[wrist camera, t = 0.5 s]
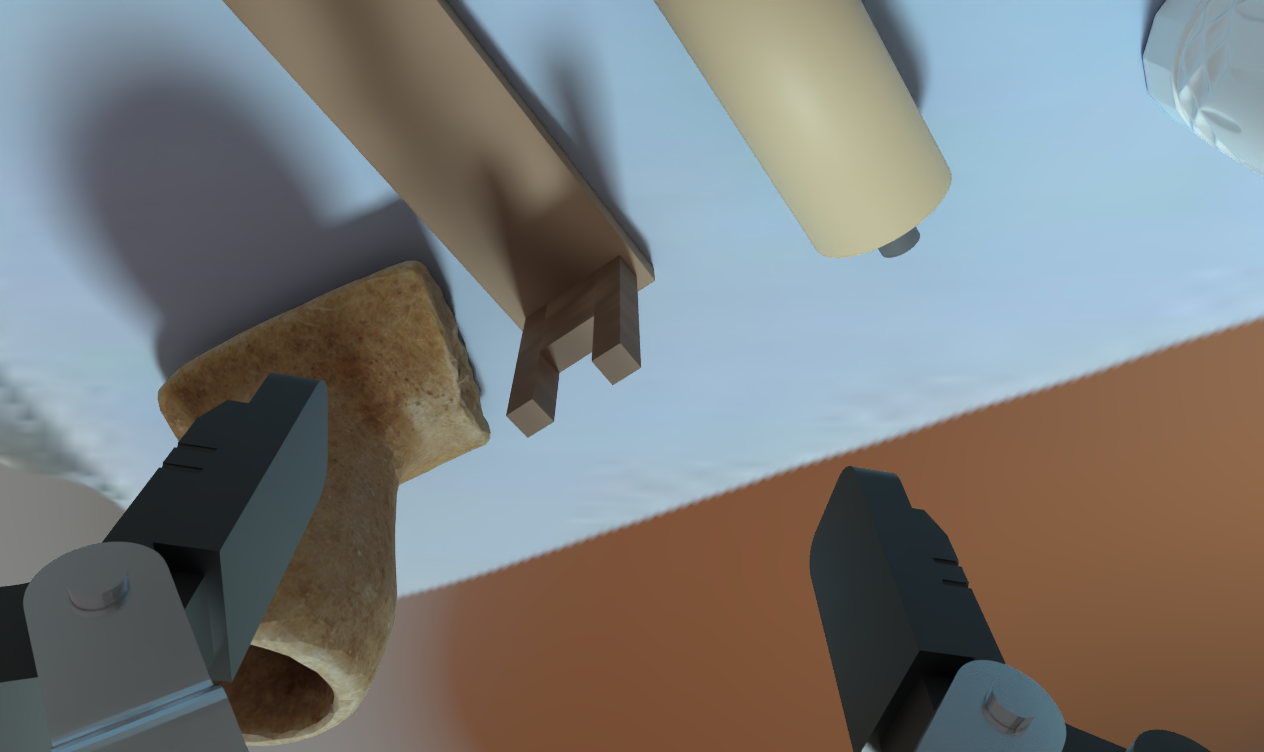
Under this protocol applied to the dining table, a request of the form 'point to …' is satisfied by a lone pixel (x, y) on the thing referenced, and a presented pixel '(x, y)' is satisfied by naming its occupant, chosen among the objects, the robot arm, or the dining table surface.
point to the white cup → (1211, 73)
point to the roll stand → (472, 176)
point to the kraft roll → (820, 116)
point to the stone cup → (341, 481)
